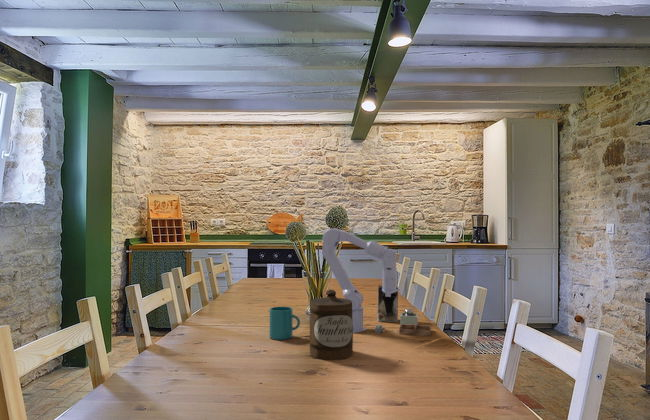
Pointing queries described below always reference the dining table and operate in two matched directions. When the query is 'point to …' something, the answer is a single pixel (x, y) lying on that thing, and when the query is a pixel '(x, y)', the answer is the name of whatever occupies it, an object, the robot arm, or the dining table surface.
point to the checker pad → (380, 329)
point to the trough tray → (415, 330)
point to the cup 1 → (282, 323)
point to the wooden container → (331, 327)
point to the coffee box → (381, 308)
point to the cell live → (390, 313)
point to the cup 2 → (409, 319)
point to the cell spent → (408, 312)
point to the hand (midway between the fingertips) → (389, 311)
